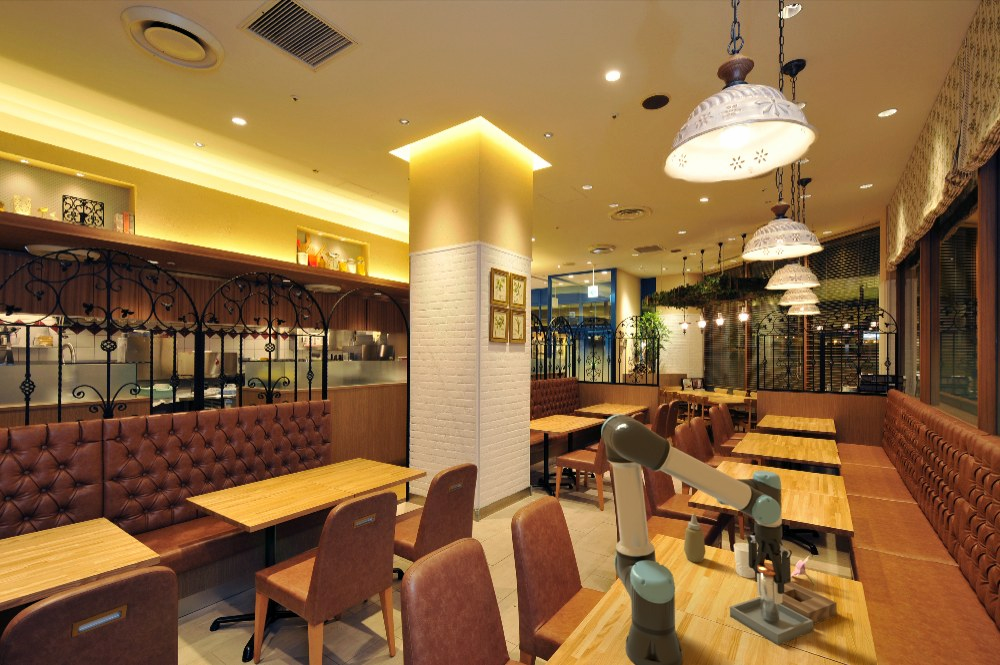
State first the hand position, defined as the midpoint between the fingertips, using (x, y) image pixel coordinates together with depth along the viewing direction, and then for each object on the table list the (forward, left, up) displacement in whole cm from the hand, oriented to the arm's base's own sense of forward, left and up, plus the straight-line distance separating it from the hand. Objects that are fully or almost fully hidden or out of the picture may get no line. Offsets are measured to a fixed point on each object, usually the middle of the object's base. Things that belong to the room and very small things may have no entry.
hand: (769, 598), depth 146 cm
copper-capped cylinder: (0, 0, -6) cm, 6 cm away
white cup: (+21, +25, -8) cm, 34 cm away
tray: (0, 0, -8) cm, 8 cm away
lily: (+34, +13, -8) cm, 37 cm away
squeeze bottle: (+13, +42, -8) cm, 45 cm away
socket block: (+16, +2, -8) cm, 18 cm away
